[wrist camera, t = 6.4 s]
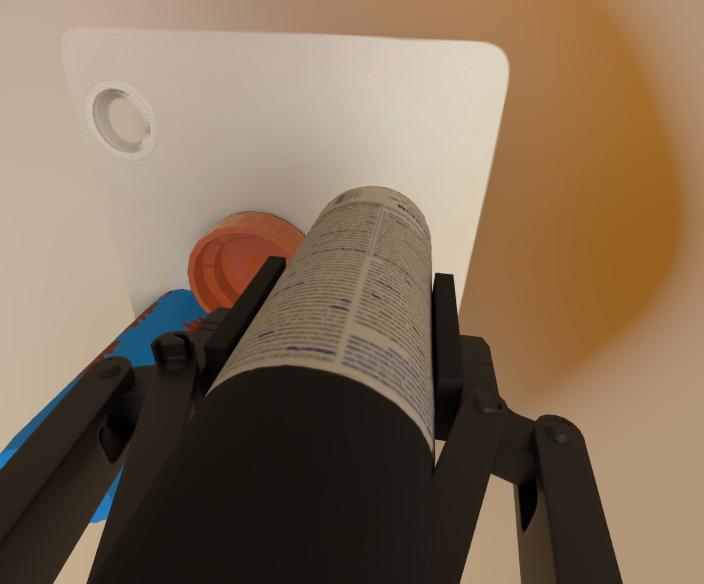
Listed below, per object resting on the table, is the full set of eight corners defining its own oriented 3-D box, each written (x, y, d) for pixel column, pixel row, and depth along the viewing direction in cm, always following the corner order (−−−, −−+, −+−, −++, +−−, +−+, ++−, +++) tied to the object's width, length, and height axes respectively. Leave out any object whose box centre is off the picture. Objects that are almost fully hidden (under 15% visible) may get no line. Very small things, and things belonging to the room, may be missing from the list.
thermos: (191, 275, 53) (35, 432, 32) (245, 334, 57) (139, 509, 36) (139, 309, 57) (-28, 466, 36) (193, 362, 61) (70, 532, 40)
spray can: (309, 274, 26) (87, 723, 9) (324, 167, 22) (-5, 580, 5) (414, 298, 25) (390, 806, 9) (446, 194, 22) (515, 719, 5)
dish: (199, 204, 47) (177, 220, 43) (322, 216, 46) (311, 234, 42) (216, 308, 55) (198, 330, 51) (322, 321, 53) (313, 345, 49)
